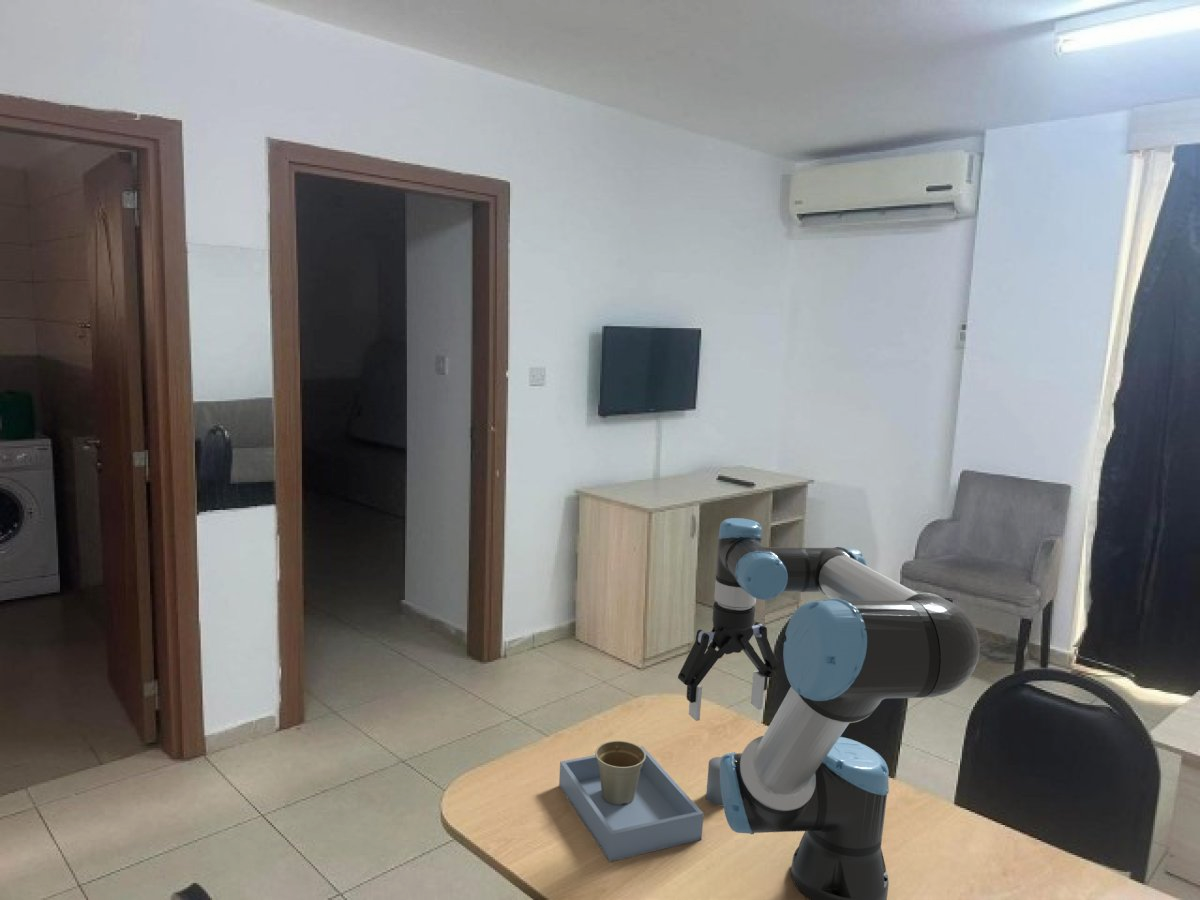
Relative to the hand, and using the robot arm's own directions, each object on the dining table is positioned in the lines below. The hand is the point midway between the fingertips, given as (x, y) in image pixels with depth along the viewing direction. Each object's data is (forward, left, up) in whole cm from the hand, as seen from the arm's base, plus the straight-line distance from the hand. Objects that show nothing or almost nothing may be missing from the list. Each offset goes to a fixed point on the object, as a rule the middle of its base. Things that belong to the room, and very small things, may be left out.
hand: (725, 711), depth 154 cm
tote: (+2, +19, -17) cm, 25 cm away
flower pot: (+6, +19, -17) cm, 26 cm away
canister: (0, 0, -18) cm, 18 cm away
